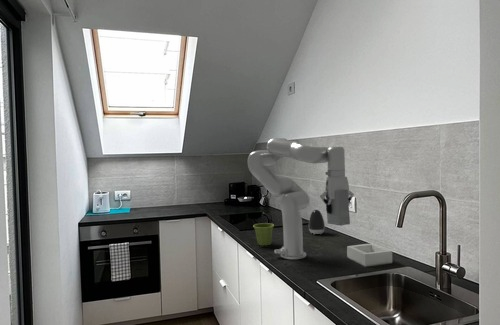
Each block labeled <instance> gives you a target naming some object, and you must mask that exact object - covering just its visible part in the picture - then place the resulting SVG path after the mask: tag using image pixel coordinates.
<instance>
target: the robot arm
mask: <svg viewBox="0 0 500 325" xmlns="http://www.w3.org/2000/svg"><path fill="white" fill-rule="evenodd" d="M345 155H346V154H345V148H344V147H343V146H330V147H325V146H310V145H304V144H300V143H299V142H298V141H295V140H290V139H287V138H282V137H278V138H277V137H273V138H271V139H269V140H268V141H267V144H266V150H259V149H258V150H254V151H252V152H251V153H249V155H248V157H247V167H248V170H249V172H250V173H251V174H252V176H254V178H255V179H256V180H258V182H259V183H261V185H262V186H263V187H264V188H265V189H266V190H267V191H268V192H269V193H270V194H271V195H272V196H273V197H275V198H280V197H281V199H280V205H279V206H280V210H281V215H282V234H283V235H282V236H283V246H281V248H279V249H274V251H273V252H274V254H279V255H280V257H281V258H283V259H286V260H300V259H304V258H306V257H307V253H306V252H305V251H304V243H303V241H304V239H303V219H302V215H301V211H302V210H305V209H307V208H308V207H309V205H310V196H309V195H308V194H307V192H306V191H305V190H304V189H303V188H302V187H301V186H300V185H299V184H298V183H297V182H296V181H294V180H293V179H292V178H289V177H279V176H278V175H276V173H274V171H272V169H269V166H273V165H274V164H276V163H278V162H279V161H280V160H281V159H282V158H289V159H293V160H296V161H300V162H304V163H309V164H313V165H314V164H326V163H327V171H326V172H324V173H325V175H326V176H327V177H326V180H325V187H324V188H325V191H323V193H321V194H320V196H319V198H320V199H321V201H323V203H324V204H325V208H326V210H325V211H326V214H327V213H329V214H331V213H332V210H331V205H330V203H331V201H332V200H334V199H335V191H338V190H348V203H349V204H350V202H351V200H352V199H353V198H354V196H355V194H354V192H352V191H351V190H350V185H349V179H348V177H347V176H346V165H345V164H346V163H345V162H346V157H345ZM327 194H328V198H327ZM326 198H327V200H326Z"/></svg>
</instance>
